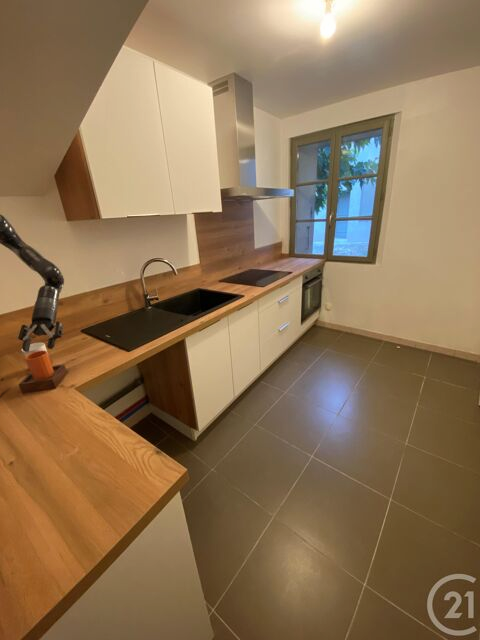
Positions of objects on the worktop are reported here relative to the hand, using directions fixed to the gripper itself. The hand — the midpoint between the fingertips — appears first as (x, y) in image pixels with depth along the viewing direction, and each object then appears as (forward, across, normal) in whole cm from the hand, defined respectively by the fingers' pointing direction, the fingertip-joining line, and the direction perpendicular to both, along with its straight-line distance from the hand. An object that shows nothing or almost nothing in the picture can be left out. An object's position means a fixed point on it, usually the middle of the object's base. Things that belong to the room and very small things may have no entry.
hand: (37, 349), depth 97 cm
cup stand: (+11, 0, -8) cm, 13 cm away
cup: (+8, 0, -6) cm, 10 cm away
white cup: (+2, +9, -17) cm, 19 cm away
